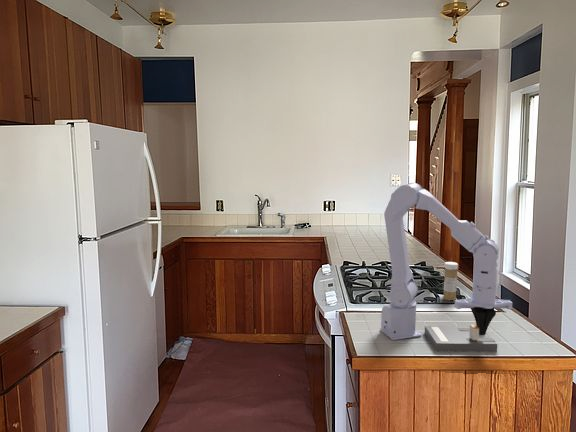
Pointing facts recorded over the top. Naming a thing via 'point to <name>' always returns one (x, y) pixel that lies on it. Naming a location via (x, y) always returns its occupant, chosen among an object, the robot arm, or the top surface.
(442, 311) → the top surface
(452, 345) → the box
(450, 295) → the sprinkles bottle
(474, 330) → the breaker handle
